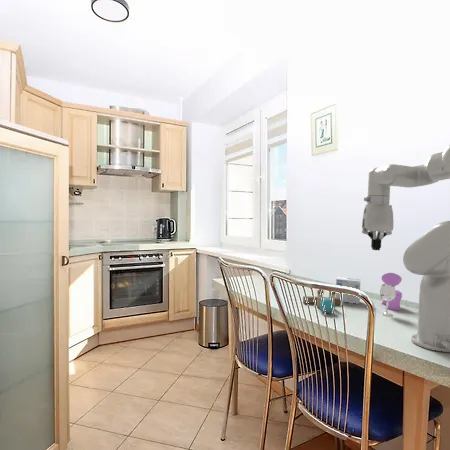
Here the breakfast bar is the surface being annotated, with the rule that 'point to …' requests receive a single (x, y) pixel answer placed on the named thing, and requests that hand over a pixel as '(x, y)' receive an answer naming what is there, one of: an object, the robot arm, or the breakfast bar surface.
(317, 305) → the rear left pin
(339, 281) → the light bulb box
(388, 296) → the wineglass
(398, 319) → the breakfast bar surface
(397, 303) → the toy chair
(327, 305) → the ball
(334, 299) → the rear right pin
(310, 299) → the back rail
